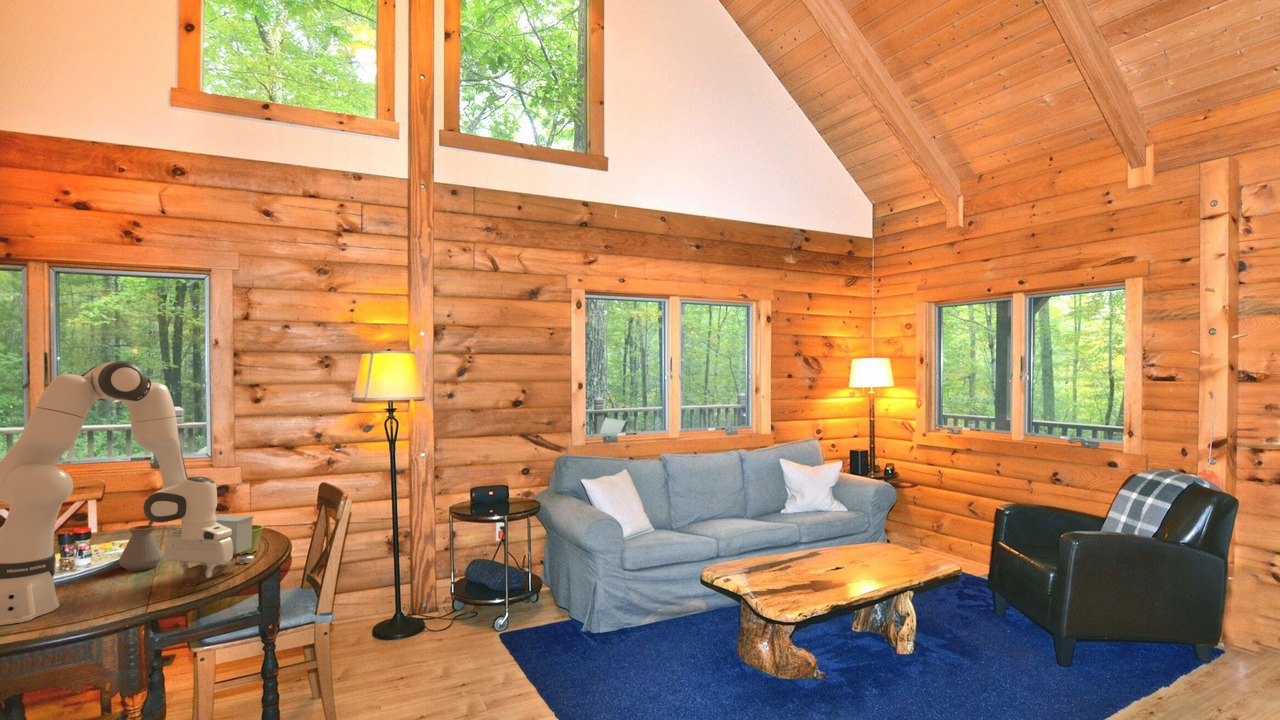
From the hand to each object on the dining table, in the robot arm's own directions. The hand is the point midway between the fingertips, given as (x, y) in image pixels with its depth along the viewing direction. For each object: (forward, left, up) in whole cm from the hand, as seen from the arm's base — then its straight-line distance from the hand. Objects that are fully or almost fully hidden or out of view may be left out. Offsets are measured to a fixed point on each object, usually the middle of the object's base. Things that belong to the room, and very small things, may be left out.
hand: (197, 576), depth 202 cm
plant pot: (+19, +26, -2) cm, 32 cm away
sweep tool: (+4, +4, -2) cm, 6 cm away
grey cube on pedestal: (+9, +8, -2) cm, 12 cm away
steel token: (+16, +13, -2) cm, 21 cm away
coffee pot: (-9, +32, -2) cm, 33 cm away
